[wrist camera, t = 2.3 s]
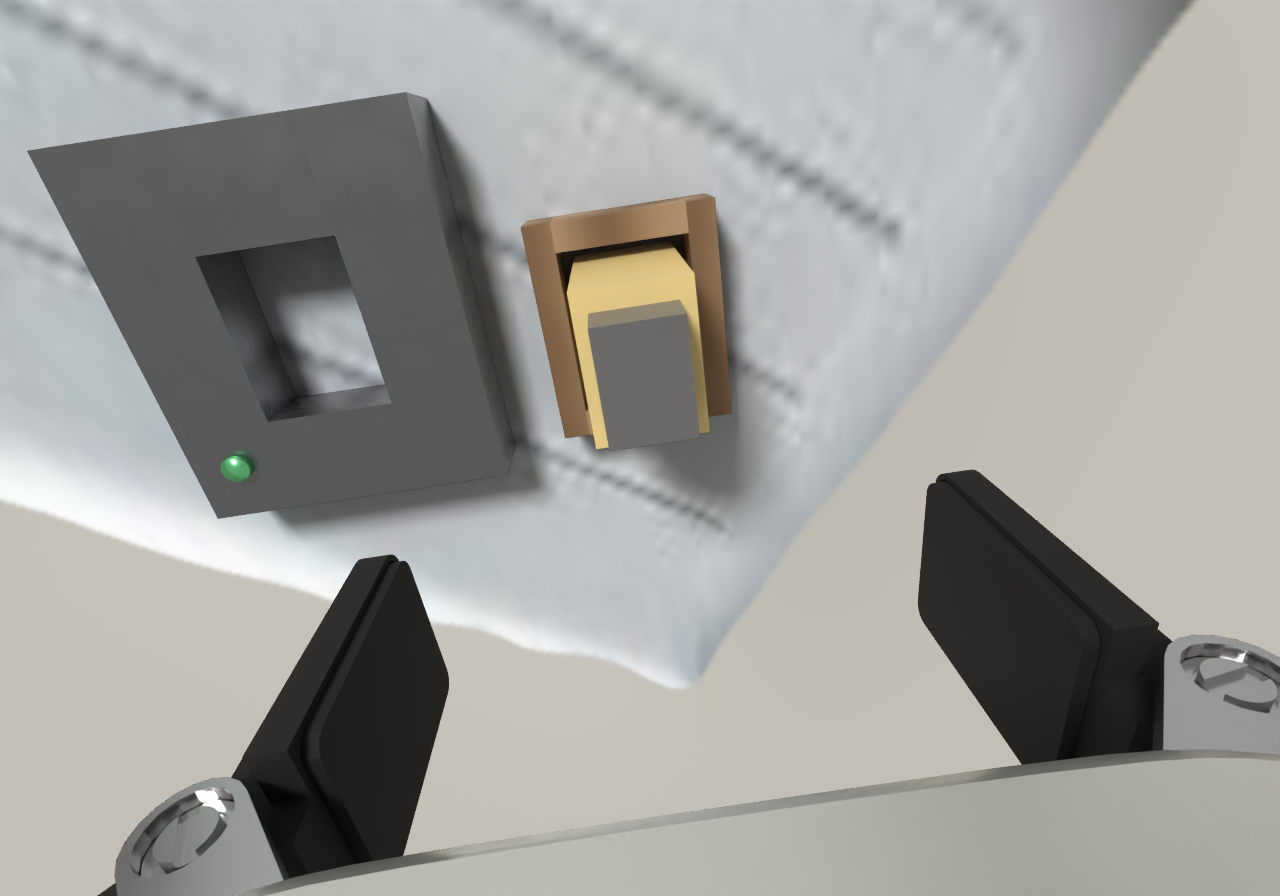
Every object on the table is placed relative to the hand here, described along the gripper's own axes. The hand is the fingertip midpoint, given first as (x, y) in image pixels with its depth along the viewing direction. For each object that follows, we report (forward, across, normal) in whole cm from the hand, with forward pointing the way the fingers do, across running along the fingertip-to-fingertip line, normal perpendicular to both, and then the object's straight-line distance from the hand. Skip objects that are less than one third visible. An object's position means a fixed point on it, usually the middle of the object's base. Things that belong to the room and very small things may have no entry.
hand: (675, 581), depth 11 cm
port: (+20, +14, -2) cm, 25 cm away
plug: (+20, 0, 0) cm, 21 cm away
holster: (+20, 0, 0) cm, 20 cm away
